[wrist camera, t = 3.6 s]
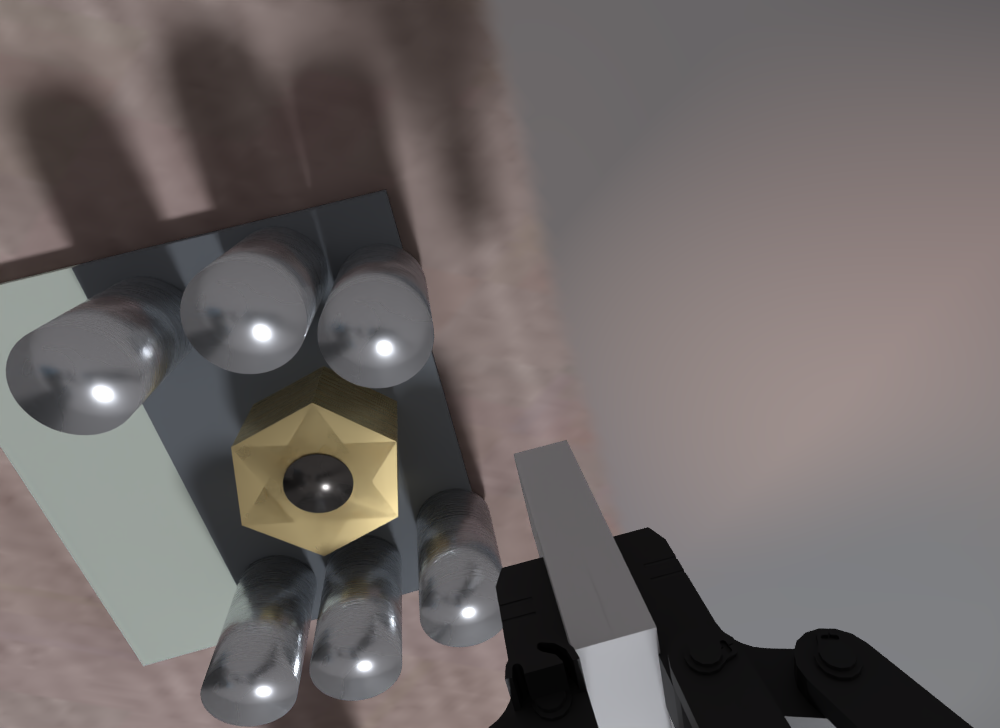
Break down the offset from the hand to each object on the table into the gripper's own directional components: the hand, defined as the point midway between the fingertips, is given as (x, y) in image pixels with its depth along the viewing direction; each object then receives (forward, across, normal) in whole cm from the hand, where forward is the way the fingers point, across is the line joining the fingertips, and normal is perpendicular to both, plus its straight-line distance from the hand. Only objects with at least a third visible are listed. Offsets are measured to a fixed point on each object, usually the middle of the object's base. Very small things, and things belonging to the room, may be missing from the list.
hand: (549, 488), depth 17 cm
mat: (+7, -10, 0) cm, 12 cm away
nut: (+6, -7, 0) cm, 9 cm away
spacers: (+6, -7, 0) cm, 10 cm away
